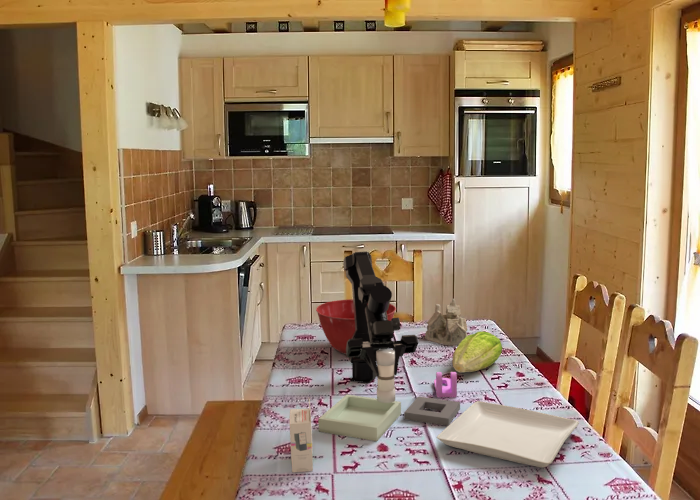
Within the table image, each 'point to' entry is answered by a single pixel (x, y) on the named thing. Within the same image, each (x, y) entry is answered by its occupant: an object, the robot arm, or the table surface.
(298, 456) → the ink box
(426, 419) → the fuse holder
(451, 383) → the bracket
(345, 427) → the tray
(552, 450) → the square plate
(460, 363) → the lettuce
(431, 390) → the table surface
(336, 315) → the mixing bowl
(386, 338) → the robot arm
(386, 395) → the cream salt shaker
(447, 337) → the ceramic cottage
